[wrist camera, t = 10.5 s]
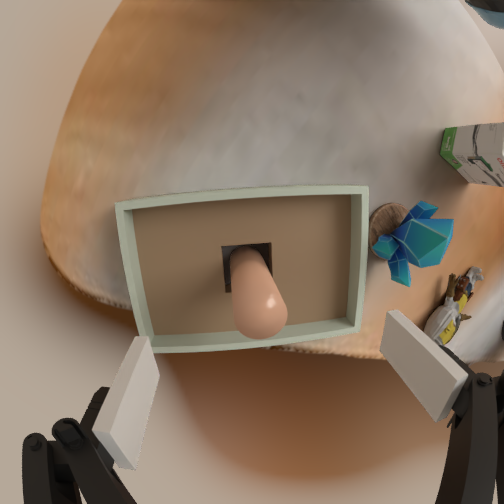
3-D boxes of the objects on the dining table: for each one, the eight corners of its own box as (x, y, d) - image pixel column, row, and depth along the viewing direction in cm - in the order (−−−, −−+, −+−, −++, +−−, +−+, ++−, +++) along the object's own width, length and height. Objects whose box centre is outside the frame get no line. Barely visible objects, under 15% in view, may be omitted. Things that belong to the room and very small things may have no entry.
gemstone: (350, 229, 31) (411, 257, 19) (399, 189, 30) (468, 199, 18) (376, 275, 33) (433, 316, 21) (420, 236, 32) (484, 260, 20)
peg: (228, 246, 30) (231, 294, 17) (261, 243, 30) (287, 289, 18) (231, 277, 31) (235, 341, 18) (263, 275, 31) (287, 336, 19)
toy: (493, 297, 33) (447, 367, 33) (472, 289, 38) (428, 353, 38) (481, 249, 30) (429, 330, 29) (456, 244, 35) (405, 316, 35)
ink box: (437, 154, 29) (502, 154, 18) (445, 126, 28) (506, 119, 17) (470, 184, 31) (527, 193, 19) (476, 157, 30) (532, 161, 18)
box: (131, 198, 27) (114, 202, 23) (347, 184, 29) (368, 185, 24) (153, 330, 32) (144, 353, 27) (343, 312, 33) (359, 331, 29)
